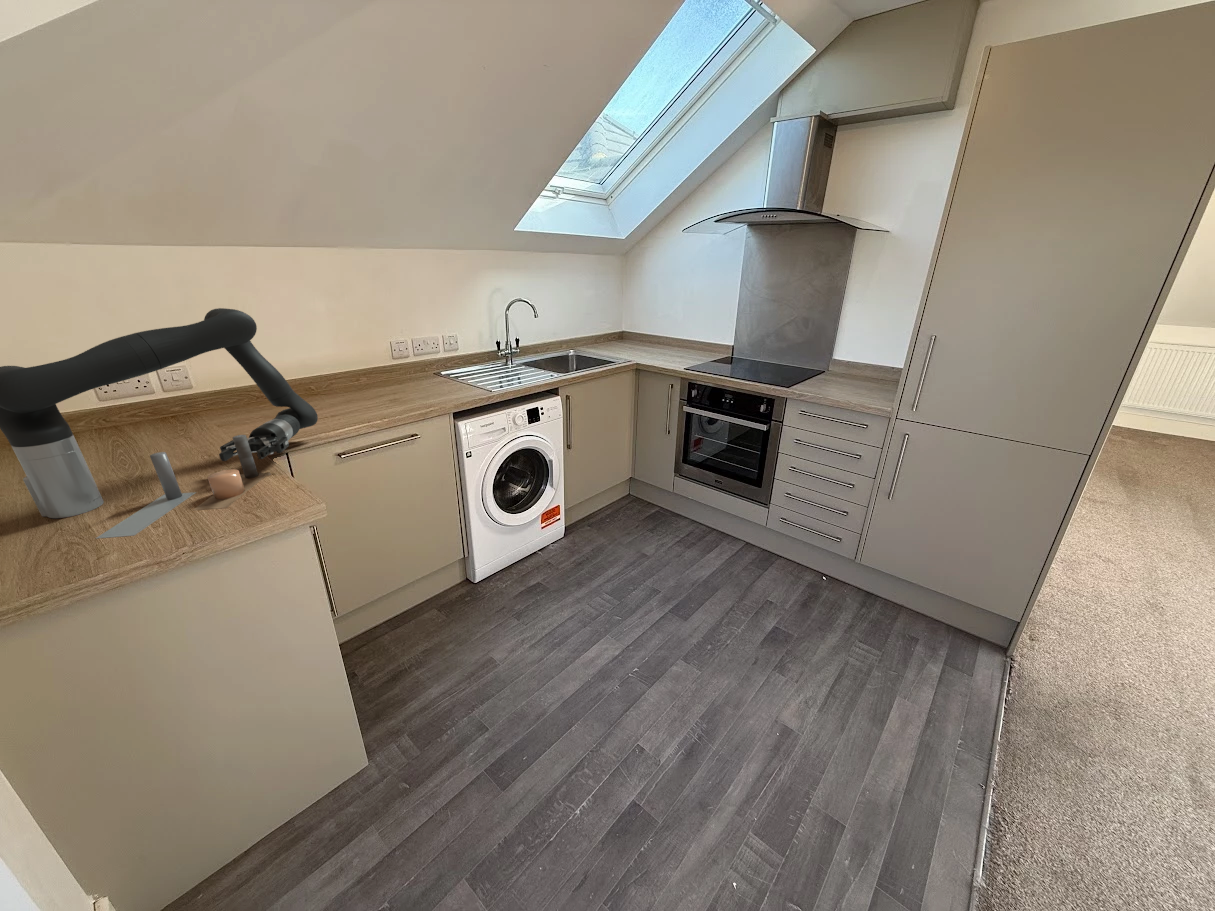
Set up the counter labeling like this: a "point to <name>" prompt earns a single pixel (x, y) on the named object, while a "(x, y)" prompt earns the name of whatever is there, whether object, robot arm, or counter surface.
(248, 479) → the peg on wooden base
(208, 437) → the counter surface
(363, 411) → the counter surface
